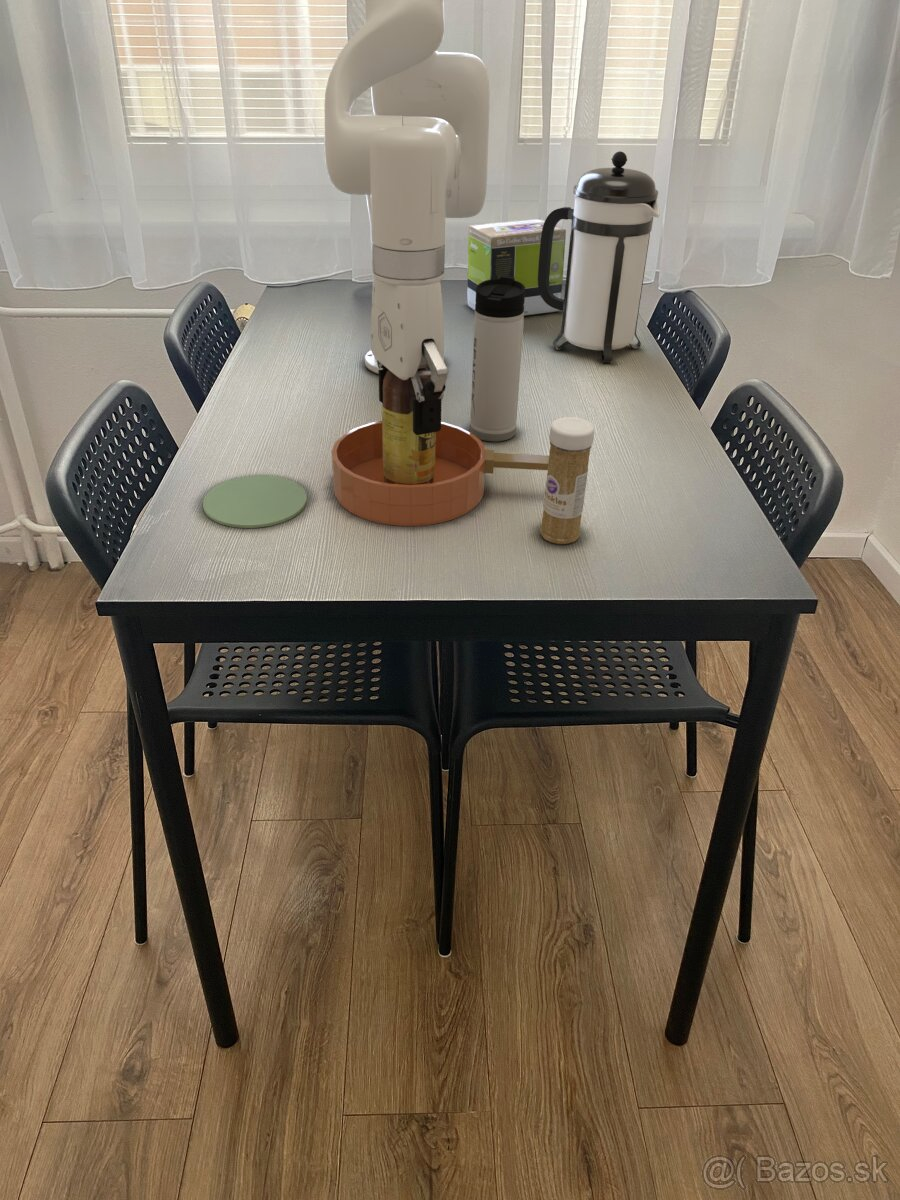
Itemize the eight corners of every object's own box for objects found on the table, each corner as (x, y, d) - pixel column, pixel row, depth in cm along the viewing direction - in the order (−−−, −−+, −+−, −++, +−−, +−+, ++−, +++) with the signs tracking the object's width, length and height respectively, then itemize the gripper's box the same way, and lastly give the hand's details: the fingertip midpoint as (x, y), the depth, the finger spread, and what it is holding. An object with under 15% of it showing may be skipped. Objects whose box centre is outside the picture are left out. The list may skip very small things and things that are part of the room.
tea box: (535, 297, 171) (541, 216, 162) (561, 313, 164) (569, 229, 155) (465, 305, 166) (467, 222, 157) (488, 322, 158) (492, 235, 150)
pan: (313, 469, 110) (310, 433, 107) (444, 444, 117) (444, 409, 114) (367, 539, 97) (366, 499, 94) (510, 506, 104) (513, 468, 101)
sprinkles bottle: (531, 535, 99) (542, 424, 91) (554, 520, 101) (566, 411, 94) (565, 550, 96) (579, 437, 88) (588, 534, 99) (603, 423, 91)
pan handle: (483, 473, 104) (483, 459, 103) (483, 462, 106) (484, 449, 105) (579, 478, 103) (581, 464, 102) (578, 467, 106) (580, 453, 104)
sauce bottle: (428, 501, 104) (430, 335, 92) (377, 495, 105) (372, 330, 93) (440, 476, 109) (443, 316, 98) (391, 470, 110) (388, 311, 98)
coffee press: (630, 332, 156) (657, 143, 138) (649, 365, 143) (681, 161, 125) (532, 330, 155) (547, 141, 138) (543, 363, 142) (561, 158, 125)
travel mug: (521, 426, 122) (532, 278, 111) (508, 445, 117) (518, 293, 106) (478, 419, 124) (485, 273, 112) (463, 437, 119) (469, 287, 107)
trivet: (192, 489, 105) (192, 486, 105) (289, 471, 110) (288, 468, 110) (217, 537, 97) (216, 534, 97) (321, 515, 101) (320, 512, 101)
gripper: (345, 246, 96) (351, 395, 106) (409, 286, 84) (409, 451, 94) (407, 240, 99) (408, 386, 109) (478, 279, 87) (472, 439, 96)
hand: (409, 416), depth 101 cm, fingers open, 9 cm apart
